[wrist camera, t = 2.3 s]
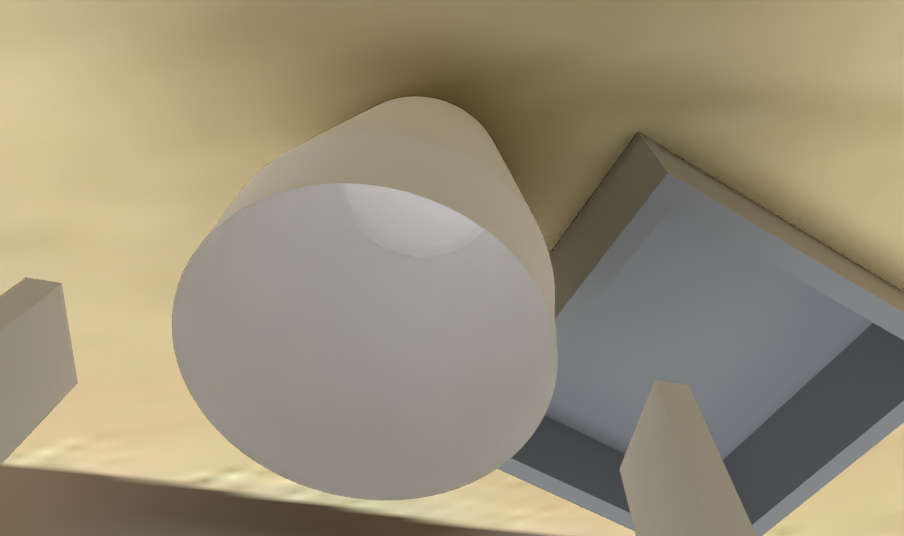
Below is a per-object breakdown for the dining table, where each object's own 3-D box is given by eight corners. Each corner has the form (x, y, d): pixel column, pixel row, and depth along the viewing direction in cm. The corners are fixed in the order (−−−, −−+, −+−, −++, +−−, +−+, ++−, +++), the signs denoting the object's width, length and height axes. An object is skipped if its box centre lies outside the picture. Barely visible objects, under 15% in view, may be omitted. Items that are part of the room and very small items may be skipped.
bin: (637, 132, 23) (667, 172, 19) (906, 293, 25) (982, 359, 22) (459, 378, 29) (453, 448, 25) (691, 490, 31) (719, 569, 28)
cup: (549, 71, 22) (601, 194, 12) (519, 288, 26) (537, 520, 16) (301, 51, 22) (129, 154, 12) (311, 269, 27) (192, 487, 16)
